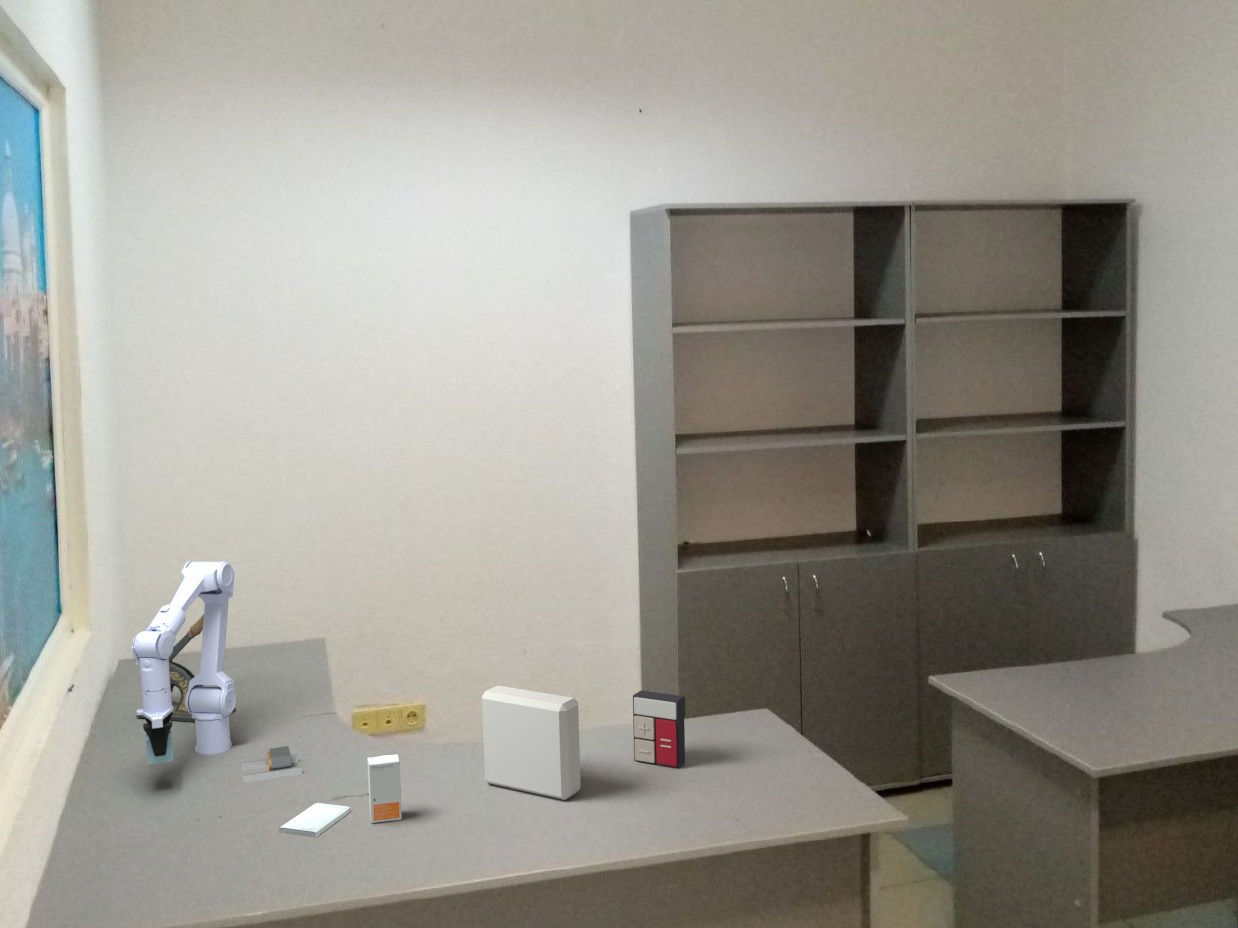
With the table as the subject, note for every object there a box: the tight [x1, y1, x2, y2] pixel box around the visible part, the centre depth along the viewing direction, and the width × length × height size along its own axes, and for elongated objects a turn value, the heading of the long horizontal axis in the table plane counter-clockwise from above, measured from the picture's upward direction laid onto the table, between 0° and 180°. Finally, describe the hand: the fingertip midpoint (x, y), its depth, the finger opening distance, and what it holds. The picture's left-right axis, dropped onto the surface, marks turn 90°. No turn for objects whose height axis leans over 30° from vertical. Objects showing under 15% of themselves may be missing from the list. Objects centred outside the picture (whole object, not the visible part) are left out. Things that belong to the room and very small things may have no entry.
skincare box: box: [366, 754, 402, 824], centre depth 230 cm, size 6×4×12 cm
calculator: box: [632, 689, 686, 769], centre depth 256 cm, size 11×4×15 cm, turn 62°
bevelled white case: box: [481, 685, 582, 801], centre depth 244 cm, size 21×8×20 cm, turn 59°
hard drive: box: [278, 802, 352, 838], centre depth 230 cm, size 2×8×12 cm
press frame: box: [240, 753, 303, 783], centre depth 252 cm, size 12×22×3 cm, turn 111°
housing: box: [145, 729, 174, 765], centre depth 247 cm, size 5×5×6 cm
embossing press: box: [136, 613, 237, 723], centre depth 295 cm, size 11×24×30 cm, turn 74°
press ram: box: [266, 745, 293, 771], centre depth 254 cm, size 6×5×4 cm
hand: (160, 750), depth 247 cm, fingers closed on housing, 5 cm apart
